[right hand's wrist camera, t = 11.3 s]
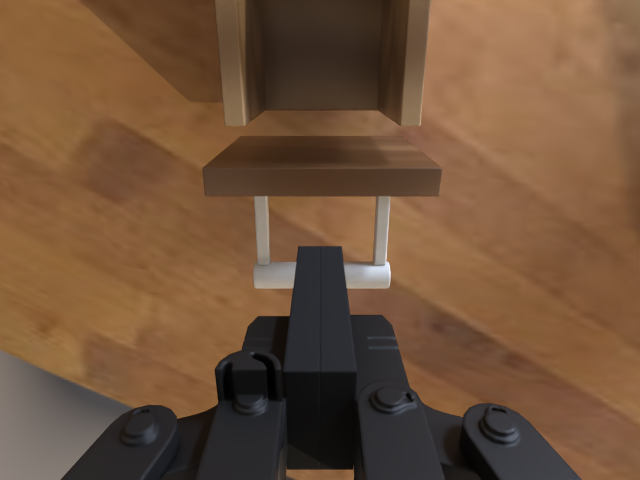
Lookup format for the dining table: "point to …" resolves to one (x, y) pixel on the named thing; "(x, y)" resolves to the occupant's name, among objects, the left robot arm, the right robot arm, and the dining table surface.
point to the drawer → (322, 94)
